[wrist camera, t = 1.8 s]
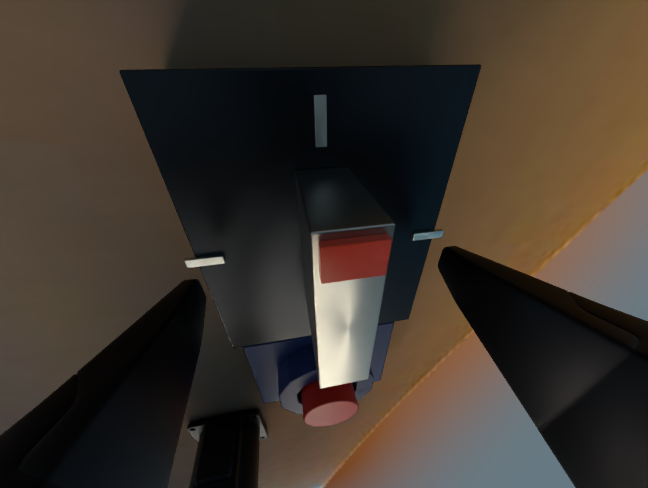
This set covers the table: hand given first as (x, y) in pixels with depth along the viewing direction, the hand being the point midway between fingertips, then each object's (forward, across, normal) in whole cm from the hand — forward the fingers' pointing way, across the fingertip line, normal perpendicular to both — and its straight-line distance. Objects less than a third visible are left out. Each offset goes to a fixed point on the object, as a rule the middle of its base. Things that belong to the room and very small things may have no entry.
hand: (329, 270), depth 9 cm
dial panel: (+4, 0, 0) cm, 5 cm away
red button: (+1, 0, +12) cm, 12 cm away
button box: (+4, 0, +12) cm, 13 cm away
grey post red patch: (+1, 0, 0) cm, 1 cm away
